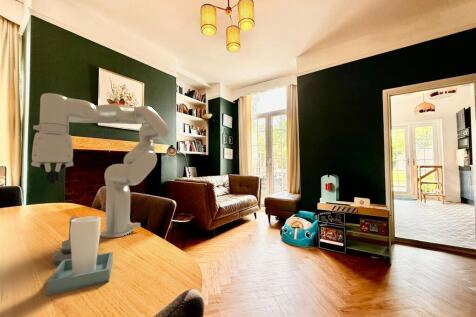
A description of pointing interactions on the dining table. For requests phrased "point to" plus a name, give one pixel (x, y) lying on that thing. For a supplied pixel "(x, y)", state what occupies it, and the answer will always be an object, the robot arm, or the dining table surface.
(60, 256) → the crank stand
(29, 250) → the dining table surface
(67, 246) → the crank
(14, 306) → the dining table surface
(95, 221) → the drinking glass
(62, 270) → the tray
